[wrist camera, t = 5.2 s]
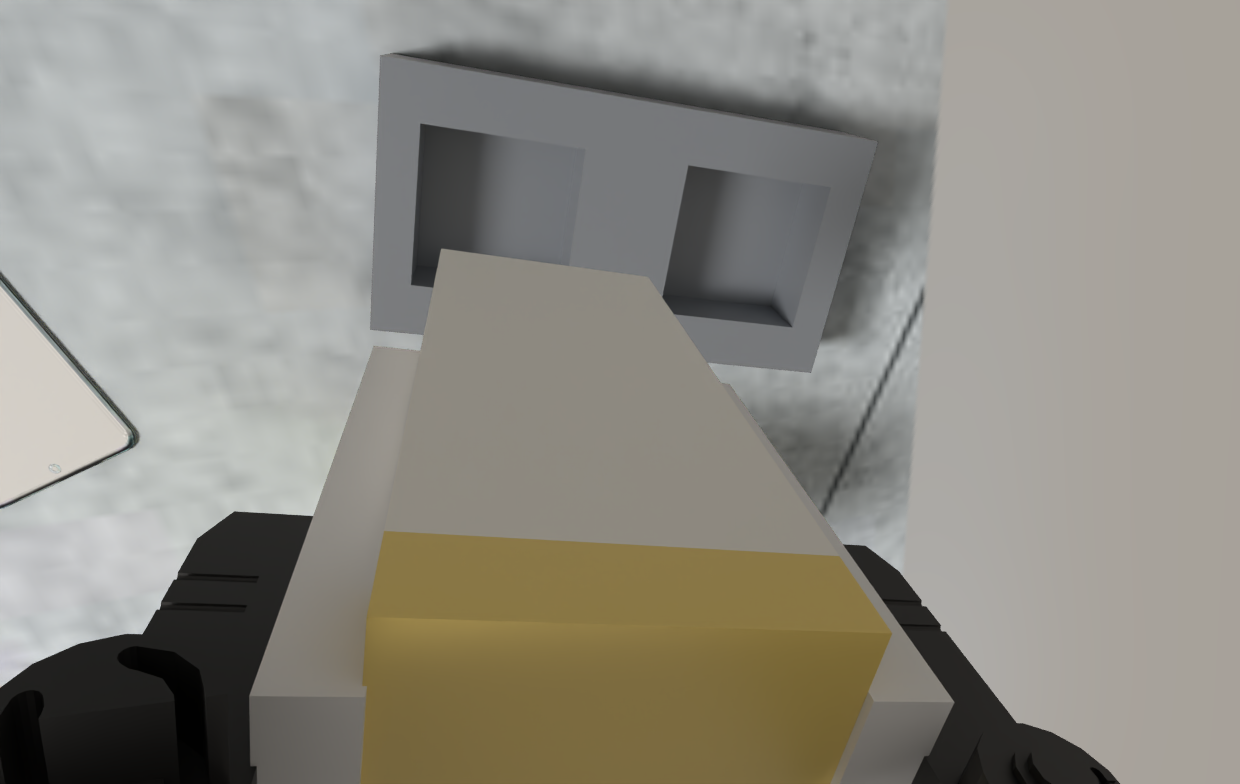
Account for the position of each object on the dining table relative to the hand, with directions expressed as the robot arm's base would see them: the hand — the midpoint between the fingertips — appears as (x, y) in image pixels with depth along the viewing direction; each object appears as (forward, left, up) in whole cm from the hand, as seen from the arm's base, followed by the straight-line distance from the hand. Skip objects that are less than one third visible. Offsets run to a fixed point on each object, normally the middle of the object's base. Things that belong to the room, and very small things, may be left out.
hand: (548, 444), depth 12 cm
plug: (0, 0, -4) cm, 4 cm away
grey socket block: (0, +4, -19) cm, 19 cm away
